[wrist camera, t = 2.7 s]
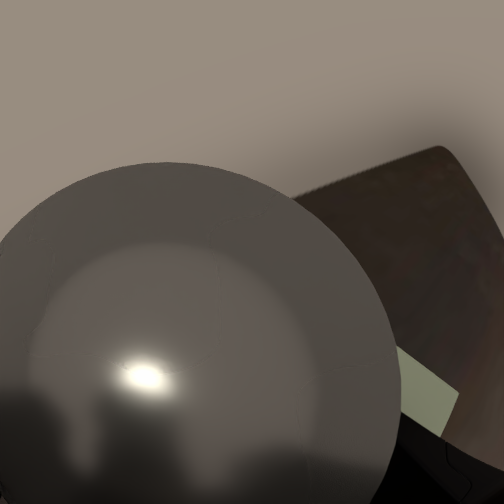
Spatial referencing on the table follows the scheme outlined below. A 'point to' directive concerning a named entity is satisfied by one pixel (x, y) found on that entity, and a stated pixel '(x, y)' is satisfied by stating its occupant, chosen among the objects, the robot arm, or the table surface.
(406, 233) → the table surface
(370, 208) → the table surface
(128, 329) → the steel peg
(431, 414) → the green pad
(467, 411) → the table surface
